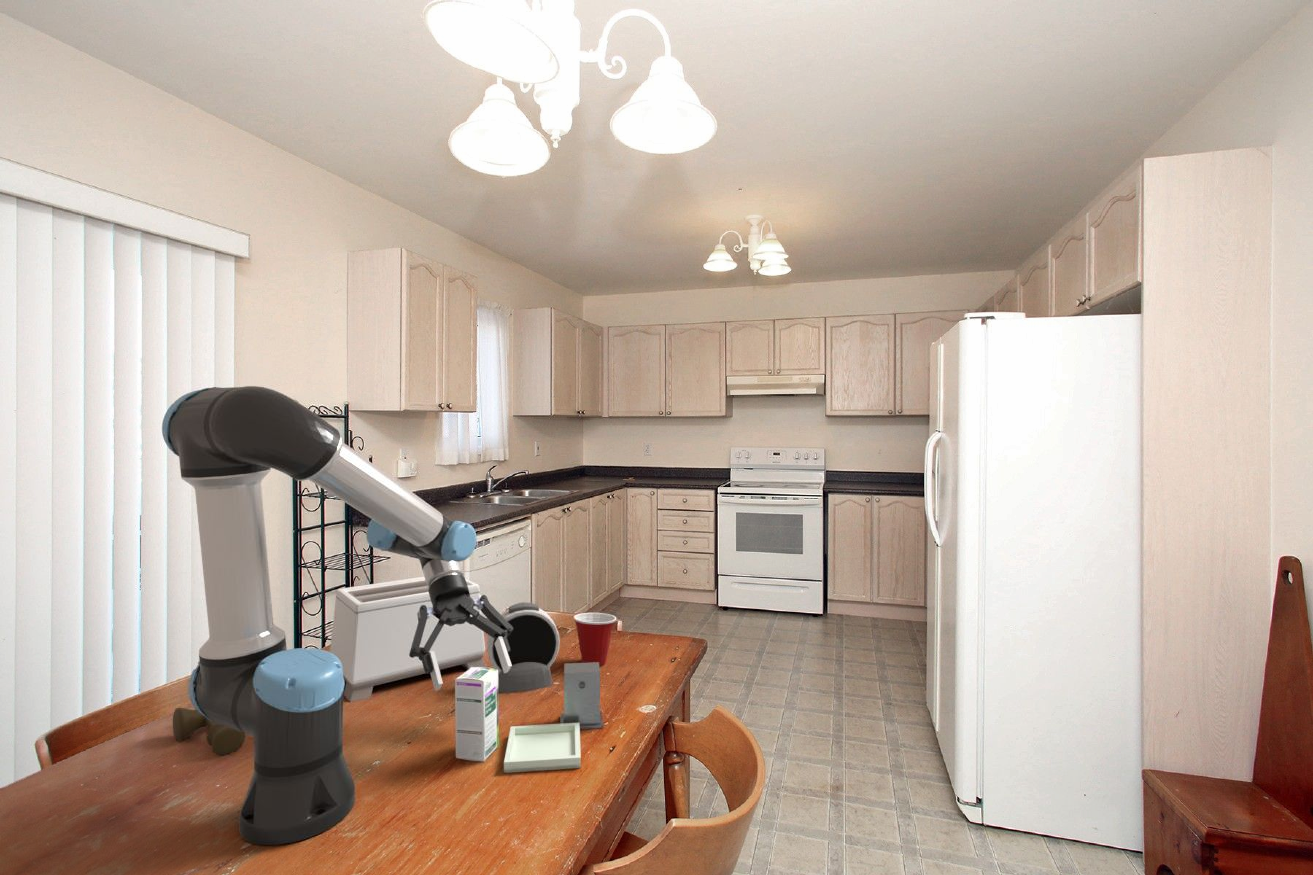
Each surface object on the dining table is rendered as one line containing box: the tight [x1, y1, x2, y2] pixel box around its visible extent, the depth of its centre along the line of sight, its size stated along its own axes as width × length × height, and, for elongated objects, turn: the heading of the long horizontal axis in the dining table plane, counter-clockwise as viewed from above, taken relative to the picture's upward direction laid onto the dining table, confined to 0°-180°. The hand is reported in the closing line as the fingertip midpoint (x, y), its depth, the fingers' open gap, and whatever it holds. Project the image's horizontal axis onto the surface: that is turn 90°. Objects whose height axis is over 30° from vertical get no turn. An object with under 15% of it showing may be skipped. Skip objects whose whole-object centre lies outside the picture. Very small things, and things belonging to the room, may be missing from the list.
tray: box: [503, 723, 582, 774], centre depth 113 cm, size 13×13×2 cm
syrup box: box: [454, 666, 500, 763], centre depth 112 cm, size 6×6×14 cm
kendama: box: [172, 707, 246, 757], centre depth 117 cm, size 6×10×20 cm
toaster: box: [329, 576, 487, 703], centre depth 150 cm, size 19×34×21 cm, turn 131°
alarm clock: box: [486, 601, 561, 693], centre depth 143 cm, size 16×10×18 cm, turn 109°
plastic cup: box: [573, 612, 617, 668], centre depth 156 cm, size 11×11×12 cm
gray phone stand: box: [559, 662, 604, 730], centre depth 124 cm, size 8×6×11 cm
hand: (474, 678), depth 117 cm, fingers open, 13 cm apart
